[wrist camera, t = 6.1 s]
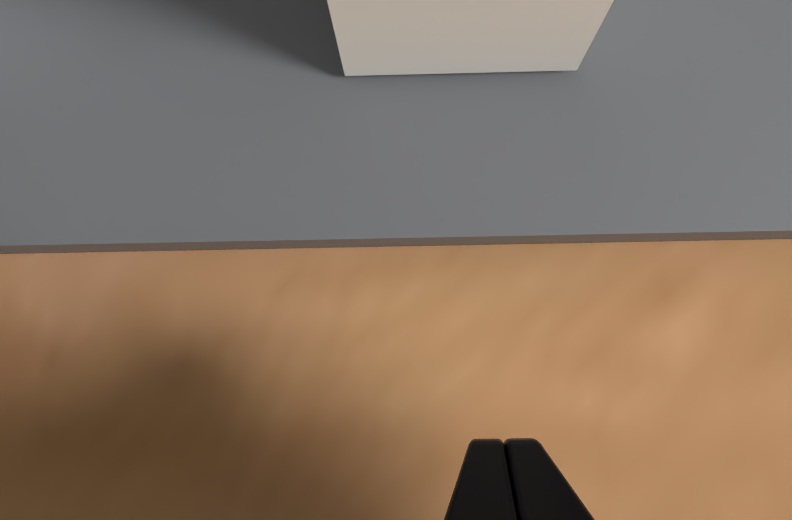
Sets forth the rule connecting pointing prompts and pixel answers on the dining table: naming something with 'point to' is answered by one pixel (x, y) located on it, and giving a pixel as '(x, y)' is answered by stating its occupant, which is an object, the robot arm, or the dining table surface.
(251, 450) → the dining table surface
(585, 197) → the mounting board
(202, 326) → the dining table surface
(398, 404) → the dining table surface
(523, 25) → the breaker module
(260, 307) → the dining table surface
